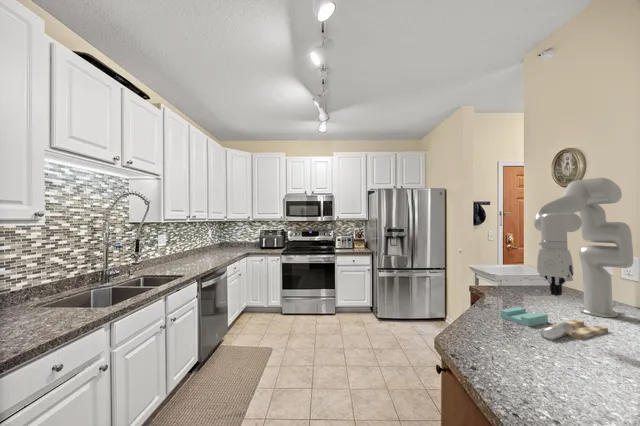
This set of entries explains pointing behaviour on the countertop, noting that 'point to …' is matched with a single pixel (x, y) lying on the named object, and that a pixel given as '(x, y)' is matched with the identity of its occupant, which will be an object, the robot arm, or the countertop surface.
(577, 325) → the wooden grooved block
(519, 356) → the countertop surface
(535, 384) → the countertop surface
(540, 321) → the cradle
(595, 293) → the robot arm
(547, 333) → the axle
